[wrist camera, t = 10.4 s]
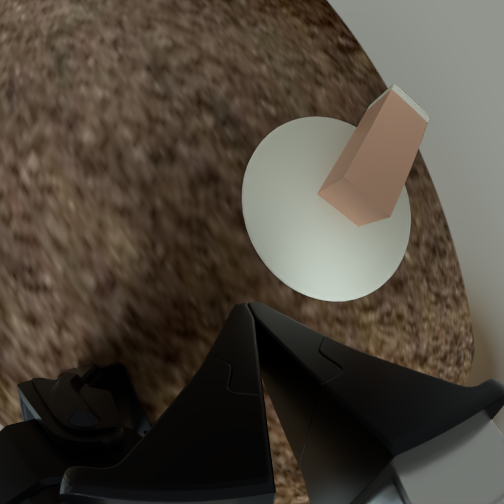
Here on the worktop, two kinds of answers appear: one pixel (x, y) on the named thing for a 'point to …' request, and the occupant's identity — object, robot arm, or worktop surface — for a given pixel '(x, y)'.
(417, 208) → the worktop surface
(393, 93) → the pink white tall block
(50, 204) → the worktop surface
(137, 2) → the worktop surface
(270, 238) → the cream mat
